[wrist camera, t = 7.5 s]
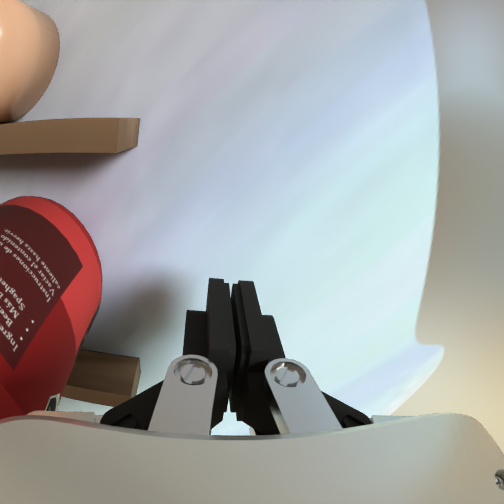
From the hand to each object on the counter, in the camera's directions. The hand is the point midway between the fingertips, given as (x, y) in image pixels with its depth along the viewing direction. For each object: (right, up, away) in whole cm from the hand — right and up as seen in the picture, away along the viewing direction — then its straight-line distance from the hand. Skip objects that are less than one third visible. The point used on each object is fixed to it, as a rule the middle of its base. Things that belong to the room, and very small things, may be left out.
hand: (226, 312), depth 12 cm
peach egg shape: (-11, +11, -3) cm, 16 cm away
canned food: (-10, +2, +2) cm, 10 cm away
